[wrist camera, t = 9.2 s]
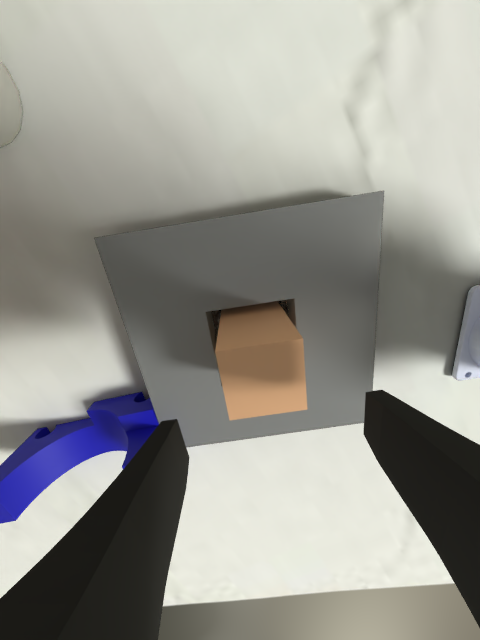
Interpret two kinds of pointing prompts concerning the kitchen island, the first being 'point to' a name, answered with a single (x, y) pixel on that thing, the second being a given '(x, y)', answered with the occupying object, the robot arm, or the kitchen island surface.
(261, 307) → the plug
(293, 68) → the kitchen island surface
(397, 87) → the kitchen island surface
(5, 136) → the bottle
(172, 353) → the socket plate
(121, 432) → the cable clip
